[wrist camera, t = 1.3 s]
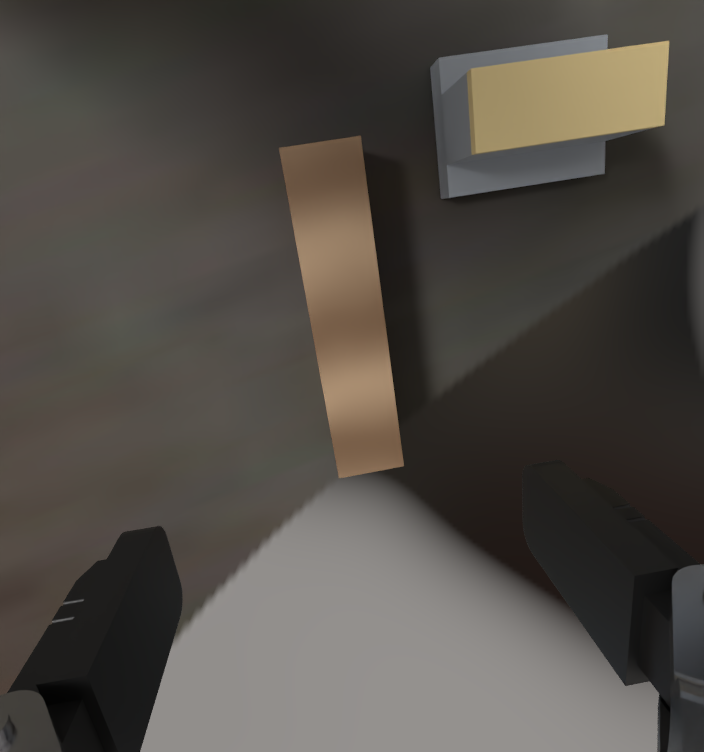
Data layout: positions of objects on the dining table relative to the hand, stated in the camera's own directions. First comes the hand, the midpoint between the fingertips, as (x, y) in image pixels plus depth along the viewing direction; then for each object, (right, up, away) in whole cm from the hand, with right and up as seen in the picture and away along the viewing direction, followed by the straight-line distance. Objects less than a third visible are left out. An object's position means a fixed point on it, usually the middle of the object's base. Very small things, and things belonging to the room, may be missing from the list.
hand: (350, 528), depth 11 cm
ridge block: (+8, +16, +14) cm, 23 cm away
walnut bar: (0, +7, +16) cm, 17 cm away
